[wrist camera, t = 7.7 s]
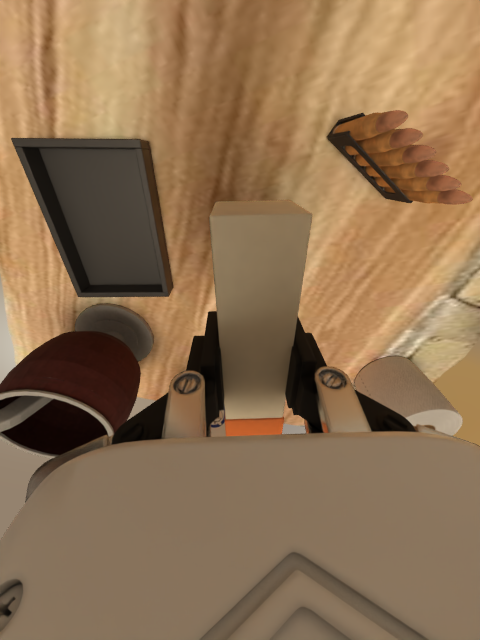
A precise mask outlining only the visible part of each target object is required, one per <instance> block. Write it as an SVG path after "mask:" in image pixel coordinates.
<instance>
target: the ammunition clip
mask: <svg viewBox="0 0 480 640" xmlns="http://www.w3.org/2000/svg"><path fill="white" fill-rule="evenodd" d="M407 118H408V114H407V113H406V112H404V111H400V110H396V111H389V112H383V113H372V114H369V115H366V116H365V115H364V114H363V113H361V114H357V115H354V116H351V117H347V118H344V119H341V120H339V121H338V122H337V124H336V125H335V126H334V128H333V129H332V131H331V132H330V134H329V135H328V136H327V137H328V140H329V141H330V142H331V143H332V144H333V145H334V146H335V147H336V148H337V149H338V150H339V151H340V152H341V153H342V154H343V155H344V156H345V157H346V158H347V159H348V160H349V161H350V162H351V163H352V164H353V165H354V166H355V167H356V168H357V170H358V171H359V172H360V173H361V174H362V175H363V176H364V177H365V178H366V179H367V180H368V181H369V182H370V183H371V184H372V185H373V186H374V187H375V188H376V189H377V190H378V191H379V192H380V193H381V194H382V195H383V196H384V197H385V198H386V199H391V200H396V201H401V202H406V203H412V202H413V201H418V202H423V203H443V204H464V203H468V202H470V201H472V200H473V198H472V197H471V196H470V195H469V194H467V193H465V192H463V191H460V190H457V189H456V188H458V187H460V186H461V183H460V181H458V180H457V179H455V178H453V177H450V176H446V175H441V174H443V173H445V172H447V171H448V170H449V167H448V166H447V165H446V164H444V163H442V162H439V161H434V160H427V159H429V158H431V157H433V156H434V155H435V154H436V150H435V149H434V148H432V147H429V146H426V145H411V144H413V143H415V142H416V141H418V140H419V139H420V138H421V137H422V136H423V134H422V132H421V131H419V130H416V129H412V128H406V129H396V130H395V129H394V128H396V127H398V126H400V125H401V124H402V123H404V122H405V121H406V119H407Z"/></svg>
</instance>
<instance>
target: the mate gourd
mask: <svg viewBox="0 0 480 640" xmlns="http://www.w3.org/2000/svg"><path fill="white" fill-rule="evenodd" d="M153 342H154V340H153V334H152V331H151V329H150V327H149V325H148V324H147V323H146V321H145V320H144V319H143V318H142V317H140V316H139V315H138V314H137V313H135V312H133V311H132V310H130V309H127V308H125V307H123V306H119V305H115V304H97V305H93V306H91V307H89V308H87V309H85V310H84V311H83V312H82V313H81V314H80V315H79V316H78V318H77V320H76V323H75V332H68V333H64V334H61V335H59V336H57V337H55V338H53V339H51V340H49V341H47V342H45V343H44V344H43V345H41V346H40V347H38V348H37V349H35V350H34V351H32V352H31V353H30V354H29V355H28V356H26V357H25V358H24V359H23V360H22V361H21V362H20V363H19V364H18V365H17V366H16V367H15V368H13V369H12V370H11V371H10V372H9V373H8V375H7V376H6V378H5V379H4V380H3V381H2V383H1V384H0V439H1V440H3V441H4V442H6V443H7V444H9V445H11V446H13V447H15V448H18V449H20V450H23V451H25V452H28V453H31V454H35V455H38V456H42V457H47V458H55V457H57V456H59V455H61V454H64V453H66V452H68V451H70V450H73V449H75V448H77V447H79V446H82V445H84V444H86V443H89V442H91V441H93V440H95V439H98V438H100V437H102V436H104V435H107V436H108V437H109V436H111V435H114V433H115V432H116V431H117V429H118V428H119V427H120V426H121V425H122V424H123V423H125V422H126V421H127V419H128V417H129V415H130V413H131V411H132V408H133V406H134V403H135V401H136V397H137V393H138V388H139V383H140V374H141V373H140V366H139V364H138V361H141V360H142V359H144V358H145V357H146V356H147V355H148V354H149V353H150V351H151V349H152V347H153Z"/></svg>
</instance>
